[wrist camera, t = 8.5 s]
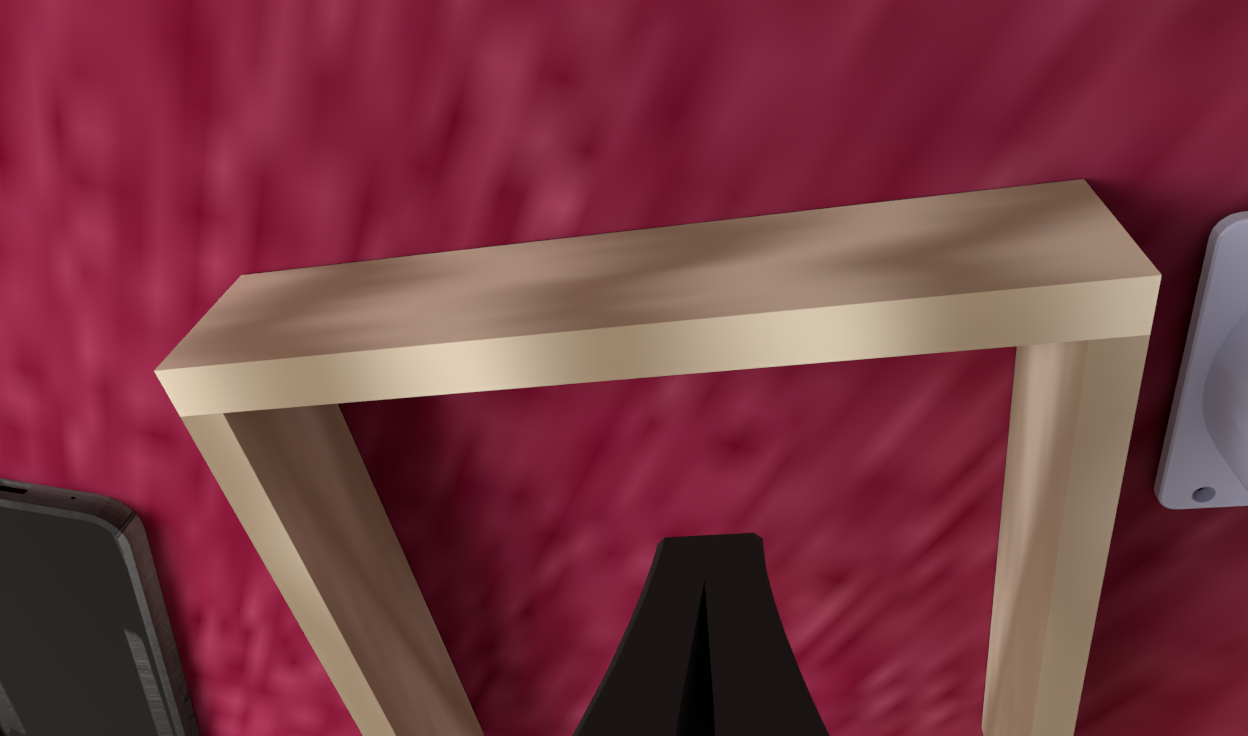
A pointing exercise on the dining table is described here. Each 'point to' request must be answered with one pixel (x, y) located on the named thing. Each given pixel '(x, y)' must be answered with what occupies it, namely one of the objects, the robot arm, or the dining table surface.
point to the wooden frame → (672, 345)
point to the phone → (83, 621)
